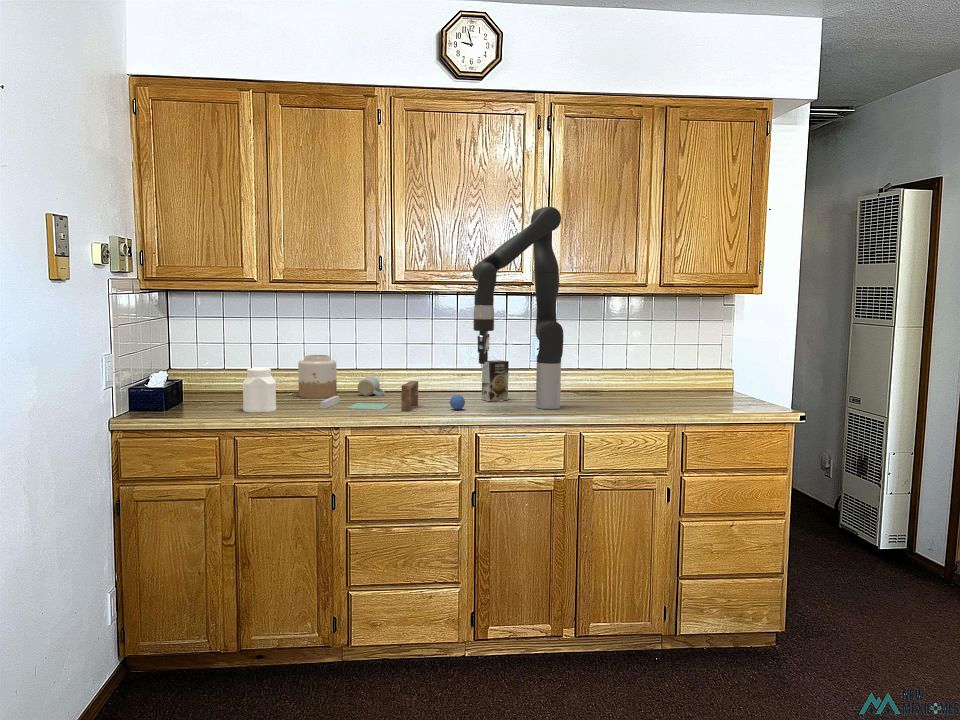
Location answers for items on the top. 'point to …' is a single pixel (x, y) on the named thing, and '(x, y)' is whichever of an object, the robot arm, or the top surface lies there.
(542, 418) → the top surface
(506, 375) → the coffee box
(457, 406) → the ball
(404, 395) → the bridge
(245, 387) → the jar
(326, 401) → the wall
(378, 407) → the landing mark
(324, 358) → the vase
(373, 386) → the ceramic mug
